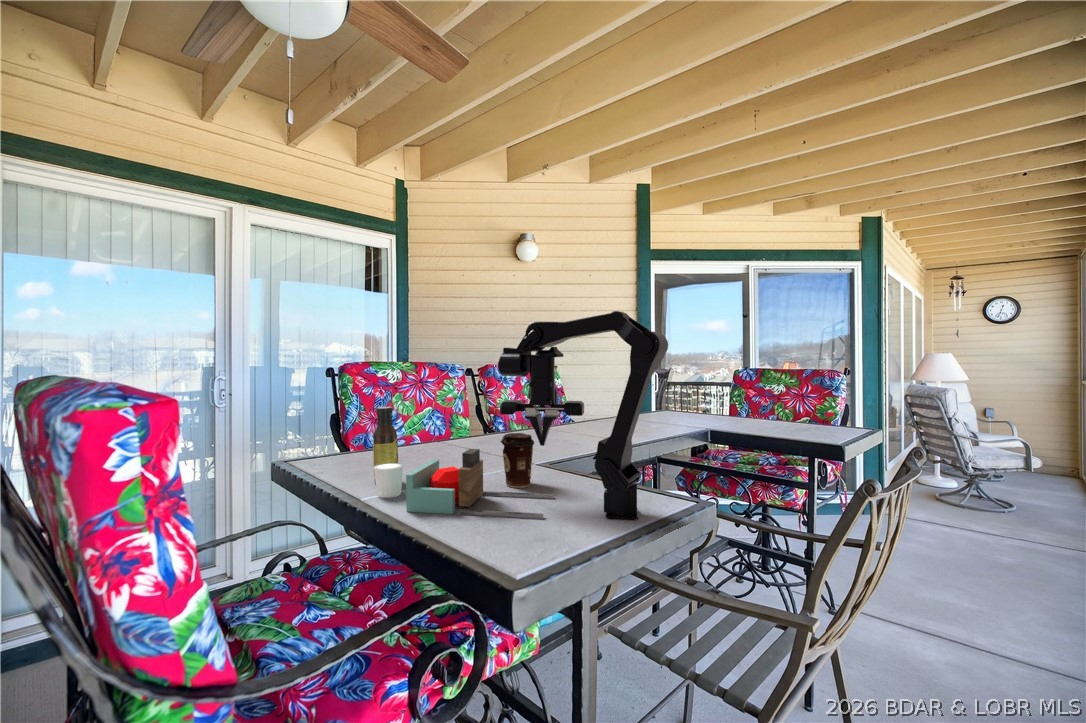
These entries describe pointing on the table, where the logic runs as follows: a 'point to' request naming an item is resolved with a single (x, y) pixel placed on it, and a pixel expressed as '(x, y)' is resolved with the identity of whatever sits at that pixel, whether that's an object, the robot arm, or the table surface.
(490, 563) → the table surface
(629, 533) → the table surface
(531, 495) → the track
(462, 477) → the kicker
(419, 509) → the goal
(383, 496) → the white cup
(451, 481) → the ball
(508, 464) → the coffee cup
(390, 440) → the sauce bottle
